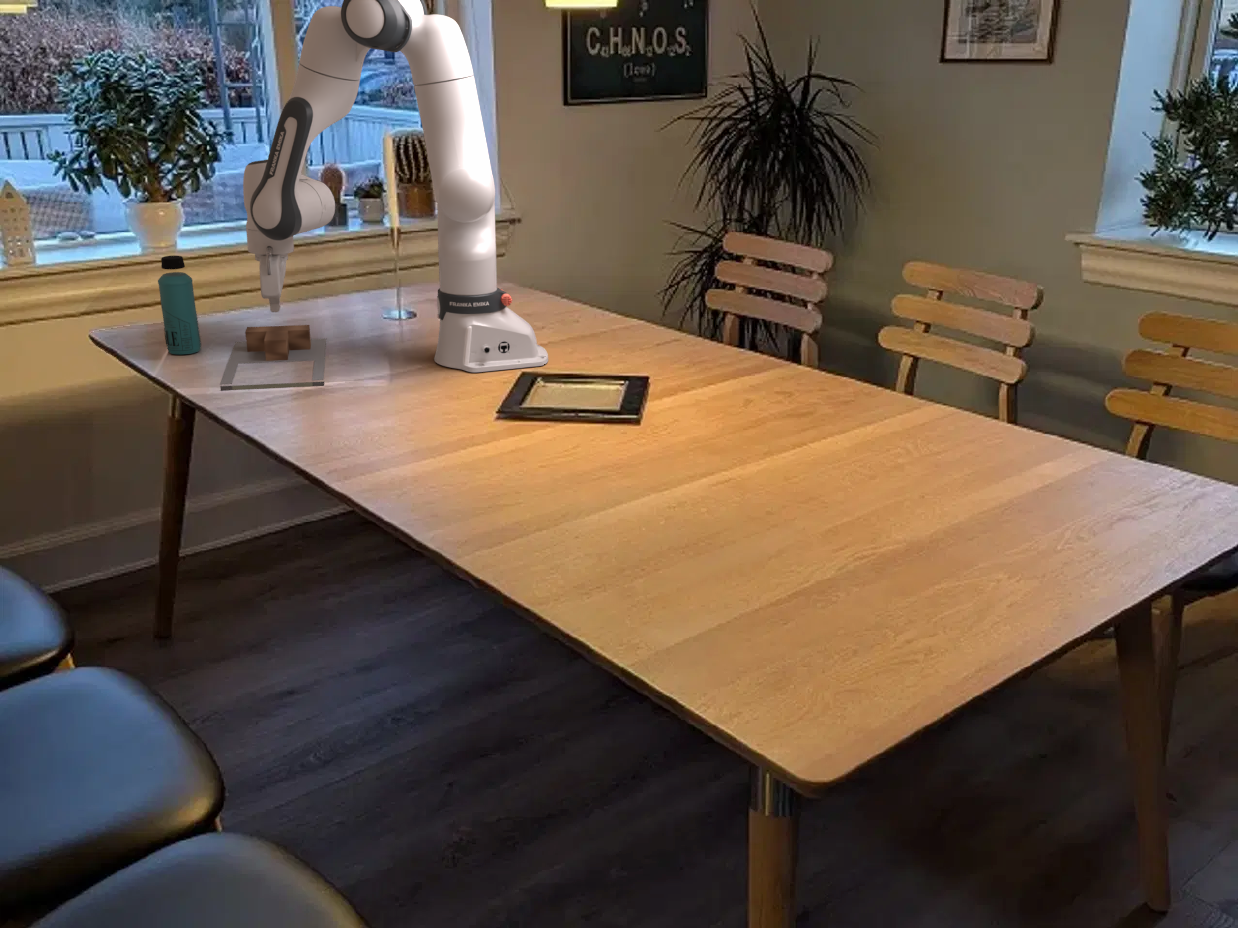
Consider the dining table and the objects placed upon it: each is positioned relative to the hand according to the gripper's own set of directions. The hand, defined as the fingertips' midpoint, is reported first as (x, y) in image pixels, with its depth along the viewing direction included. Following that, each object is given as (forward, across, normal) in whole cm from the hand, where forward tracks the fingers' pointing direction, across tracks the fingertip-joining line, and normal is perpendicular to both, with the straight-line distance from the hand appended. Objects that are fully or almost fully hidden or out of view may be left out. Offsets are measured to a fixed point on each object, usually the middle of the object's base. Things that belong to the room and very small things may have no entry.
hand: (275, 310), depth 226 cm
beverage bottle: (+8, -7, +17) cm, 20 cm away
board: (+7, -15, -1) cm, 17 cm away
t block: (+6, -10, -1) cm, 12 cm away
